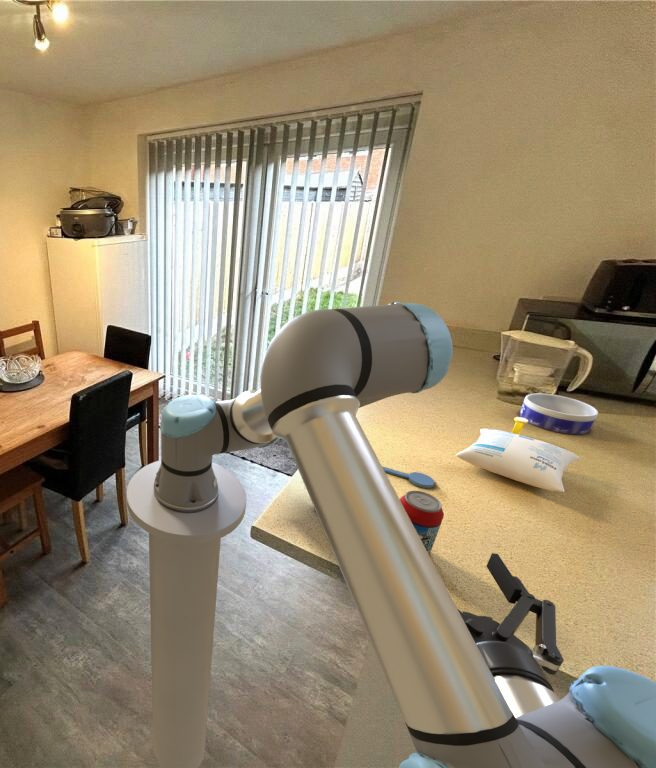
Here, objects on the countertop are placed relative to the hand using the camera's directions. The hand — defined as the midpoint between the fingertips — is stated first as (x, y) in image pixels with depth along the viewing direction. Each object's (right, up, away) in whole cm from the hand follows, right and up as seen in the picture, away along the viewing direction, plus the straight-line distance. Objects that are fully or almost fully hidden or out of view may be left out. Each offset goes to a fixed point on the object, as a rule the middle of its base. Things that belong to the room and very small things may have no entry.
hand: (440, 550), depth 62 cm
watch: (+57, +11, +48) cm, 76 cm away
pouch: (+44, +5, +35) cm, 56 cm away
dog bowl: (+76, +15, +56) cm, 95 cm away
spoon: (+14, +5, +35) cm, 38 cm away
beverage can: (+3, -5, +12) cm, 14 cm away
